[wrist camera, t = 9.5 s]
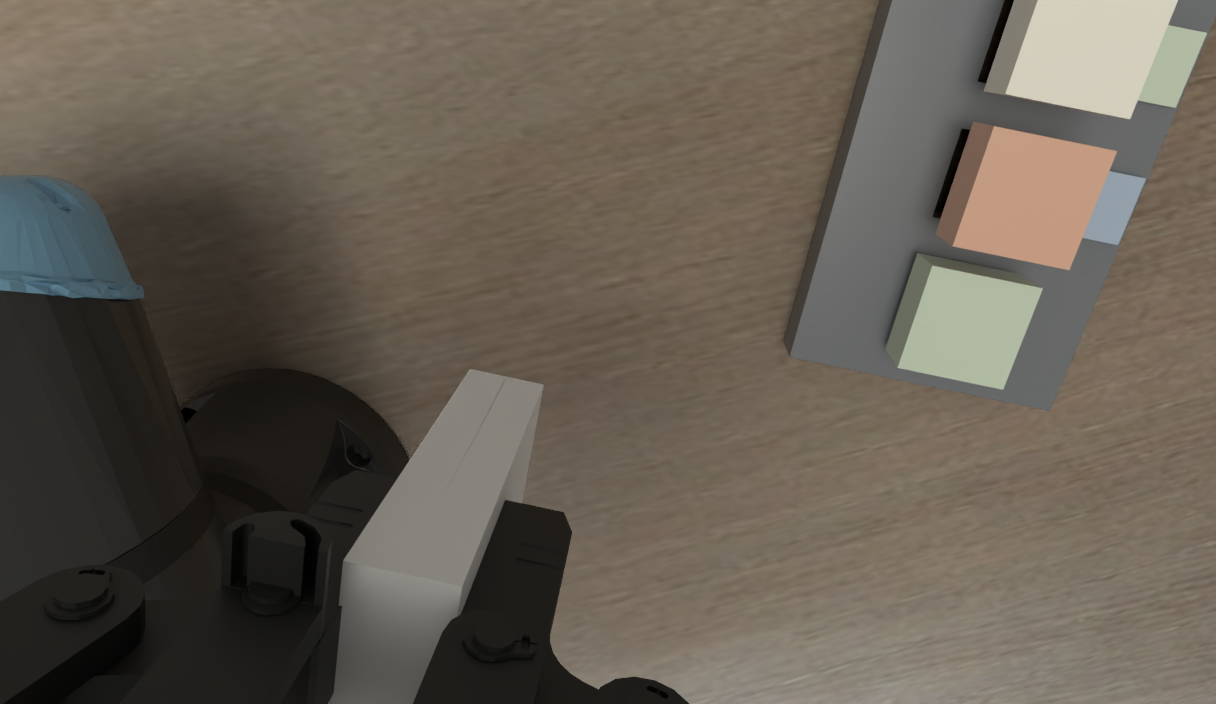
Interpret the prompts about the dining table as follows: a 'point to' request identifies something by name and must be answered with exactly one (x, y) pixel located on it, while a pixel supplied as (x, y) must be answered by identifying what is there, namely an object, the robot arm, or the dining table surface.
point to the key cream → (1080, 52)
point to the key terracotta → (1023, 195)
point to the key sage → (962, 321)
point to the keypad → (915, 172)
